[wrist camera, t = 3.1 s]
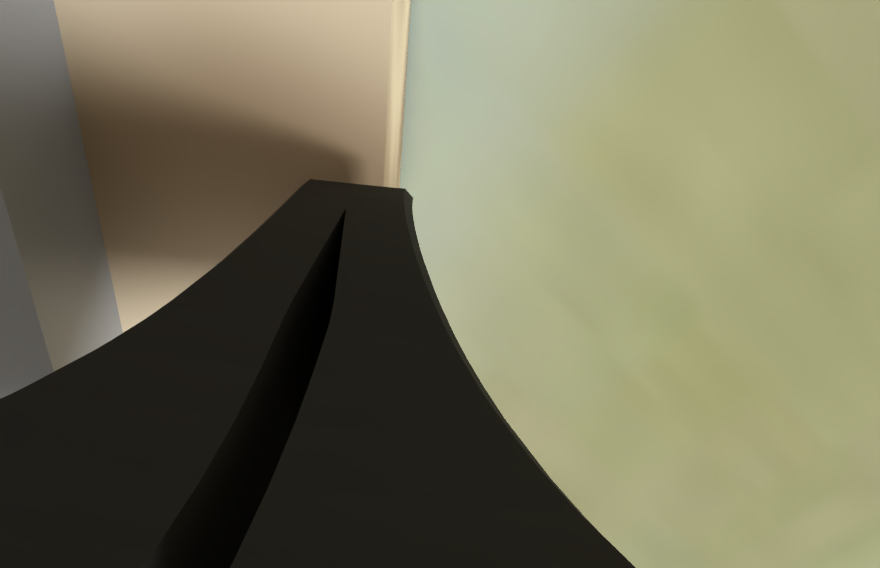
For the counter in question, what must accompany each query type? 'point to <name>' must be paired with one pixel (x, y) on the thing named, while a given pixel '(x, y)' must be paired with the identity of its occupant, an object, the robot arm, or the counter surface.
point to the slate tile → (45, 209)
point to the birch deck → (225, 121)
